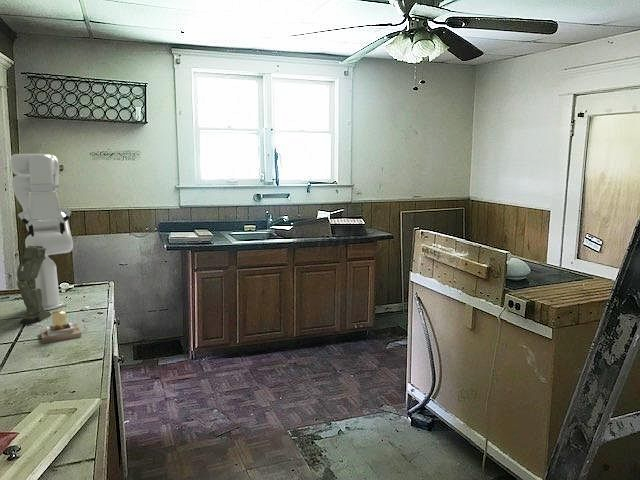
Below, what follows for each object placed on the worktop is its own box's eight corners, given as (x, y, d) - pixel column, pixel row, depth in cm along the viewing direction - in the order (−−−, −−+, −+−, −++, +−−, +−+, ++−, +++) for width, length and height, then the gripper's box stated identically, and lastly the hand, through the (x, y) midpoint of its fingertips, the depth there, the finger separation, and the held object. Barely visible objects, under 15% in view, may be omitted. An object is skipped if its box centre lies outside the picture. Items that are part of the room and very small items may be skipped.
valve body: (52, 330, 183) (51, 311, 182) (66, 328, 185) (64, 309, 184) (54, 334, 179) (52, 315, 178) (67, 331, 182) (66, 312, 180)
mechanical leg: (25, 325, 190) (31, 245, 192) (8, 324, 192) (15, 244, 194) (51, 322, 204) (57, 247, 206) (36, 321, 205) (41, 246, 207)
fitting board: (40, 334, 184) (39, 326, 183) (77, 327, 190) (76, 320, 190) (43, 343, 175) (42, 335, 174) (81, 336, 181) (80, 328, 181)
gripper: (67, 187, 194) (71, 231, 197) (15, 189, 185) (20, 235, 188) (70, 188, 188) (74, 234, 191) (15, 190, 179) (21, 238, 182)
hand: (47, 234), depth 189 cm, fingers open, 9 cm apart
